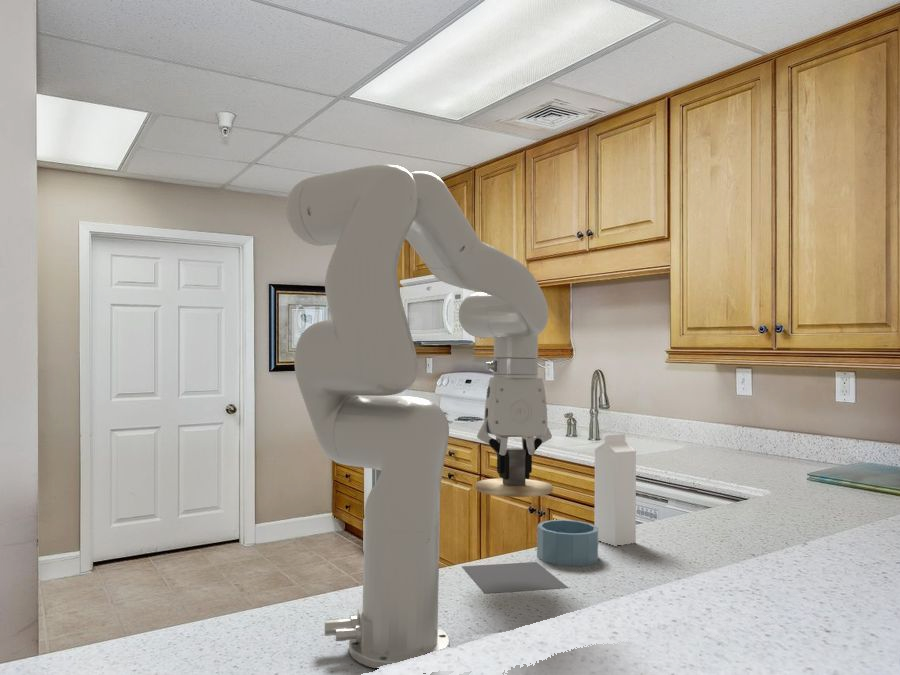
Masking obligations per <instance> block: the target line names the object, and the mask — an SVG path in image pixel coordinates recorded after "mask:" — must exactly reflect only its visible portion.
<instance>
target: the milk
mask: <svg viewBox="0 0 900 675" xmlns="http://www.w3.org/2000/svg"><path fill="white" fill-rule="evenodd" d="M636 494H637V451H636V450H635V449H634V448H633V447H632V446H631V445H630V444H629V443H628V442H627V441H626V434H625V433H619V434H606V435H605V436H604V443H602V444H600V445H599V446H597V447H595V449H594V507H593V508H594V514H593V515H594V516H593V517H594V520H593V521H594V522H593V523H594V524H593V525H595V526H597V527H598V542H599V541H601V542H600V543H603V542H604V543H603V544H606V543H608V544H607V545H609V544H611V545H610V546H612V545H615V546H616V547H618V546H617V545H621V546H624V545H623V544H627V545H632V544H636V542H637V540H636V539H637V538H636V534H637V530H636V529H637V527H636V526H637V525H636V524H637V521H636V520H637V519H636V517H637V510H636V509H637V506H636V505H637V499H636V498H637V495H636ZM631 543H632V544H631ZM615 546H614V547H615Z"/></svg>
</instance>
